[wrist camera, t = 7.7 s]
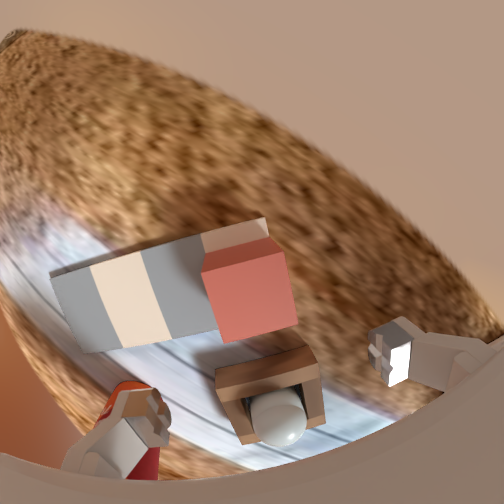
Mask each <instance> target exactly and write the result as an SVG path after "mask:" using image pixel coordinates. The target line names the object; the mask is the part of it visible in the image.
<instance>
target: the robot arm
mask: <svg viewBox="0 0 504 504" xmlns="http://www.w3.org/2000/svg"><path fill="white" fill-rule="evenodd" d="M368 340H369V341H370V342H371V344H370V346H369V348H368V356H369V360H370V363H371V364H372V366H373V368H374V369H375V370H377V371H381V377H382V379H383V380H384V381H385V382H386V383H387V385H388V386H392V385H394V384H396V383H398V382H400V381H402V380H404V379H406V378H408V379H410V380H413V381H415V382H418V383H421V384H423V385H426V386H429V387H432V388H434V389H437V390H440V391H443V392H444V394H442V395H441V396H439V397H438V398H436V399H435V400H433V401H432V402H430V403H428V404H427V405H425V406H423V407H422V408H420V409H418V410H417V411H415V412H413V413H411V414H410V415H408V416H406V417H404V418H402V419H400V420H398V421H397V422H395V423H393V424H391V425H389V426H387V427H385V428H383V429H380V430H378V431H376V432H374V433H372V434H370V435H367V436H365V437H363V438H361V439H358V440H356V441H353V442H351V443H348V444H346V445H343V446H341V447H338V448H335V449H333V450H330V451H327V452H324V453H321V454H318V455H315V456H312V457H309V458H305V459H302V460H299V461H295V462H291V463H288V464H284V465H280V466H276V467H272V468H267V469H262V470H258V471H253V472H247V473H241V474H235V475H228V476H221V477H212V478H202V479H189V480H129V479H125V478H126V477H127V476H128V475H129V473H130V472H131V471H132V469H133V468H134V467H135V466H136V464H137V463H138V462H139V460H140V459H141V458H142V457H143V455H144V454H145V453H146V451H147V450H148V448H152V447H165V446H168V443H169V435H170V433H169V432H168V430H167V429H168V427H169V426H170V425H171V413H170V410H169V408H168V406H167V404H166V403H165V402H163V401H162V400H160V397H161V394H160V393H159V391H158V389H156V388H146V389H135V390H125V391H121V392H119V394H118V396H117V399H116V401H115V404H114V407H113V409H112V412H111V414H110V417H109V418H106V419H105V420H103V421H102V422H101V423H100V424H99V425H97V426H96V427H95V428H94V429H92V430H91V431H90V432H89V433H88V434H86V435H85V436H84V437H83V438H82V439H80V440H79V441H78V442H76V443H75V444H74V445H73V446H72V447H70V448H69V449H68V451H67V454H66V456H65V459H64V461H63V464H62V466H61V469H60V470H58V469H54V468H50V467H46V466H42V465H39V464H35V463H32V462H29V461H25V460H22V459H19V458H17V457H13V456H11V455H8V454H5V453H0V504H504V335H503V336H501V337H500V338H498V339H496V340H494V341H493V342H491V343H489V344H486V343H484V342H483V341H481V340H480V339H477V338H469V337H461V336H453V335H446V334H439V333H432V332H428V333H425V332H423V331H422V330H421V329H419V328H418V327H417V326H416V325H414V324H413V323H412V322H410V321H409V320H408V319H406V318H405V317H403V316H400V317H398V318H396V319H394V320H391V321H390V322H388V323H385V324H383V325H381V326H378V327H376V328H374V329H371V330H369V332H368Z"/></svg>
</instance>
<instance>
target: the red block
mask: <svg viewBox="0 0 504 504" xmlns="http://www.w3.org/2000/svg"><path fill="white" fill-rule="evenodd" d="M201 275H202V279H203V282H204V285H205V288H206V291H207V295H208V298H209V301H210V304H211V307H212V310H213V313H214V316H215V319H216V322H217V325H218V328H219V331H220V334H221V337H222V340H223V342H224V344H225V343H229V342H233V341H237V340H241V339H245V338H249V337H253V336H257V335H261V334H265V333H268V332H272V331H276V330H279V329H283V328H286V327H290V326H293V325H297V324H298V319H297V314H296V309H295V304H294V299H293V294H292V289H291V284H290V279H289V274H288V269H287V265H286V260H285V255H284V251H283V250H282V249H281V248H280V247H279V246H278V245H277V244H276V243H275V242H274V241H273V240H272V239H271V238H270V237H266V238H263V239H259V240H255V241H251V242H247V243H243V244H239V245H236V246H232V247H228V248H224V249H220V250H216V251H213V252H209V253H206V254H205V258H204V262H203V266H202V270H201Z"/></svg>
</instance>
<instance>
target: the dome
mask: <svg viewBox="0 0 504 504" xmlns="http://www.w3.org/2000/svg"><path fill="white" fill-rule="evenodd" d="M248 398H249V405H250V411H251V418H252V424H253V429H254V432H255V434H256V435H257V437H258V438H259V439H260V440H261V441H262V442H264V443H266V444H268V445H270V446H275V447H283V446H287V445H290V444H292V443H294V442H296V441H297V440H298V439H299V438H300V437H301V436H302V435H303V433H304V431H305V429H306V424H307V418H306V414H305V411H304V409H303V406H302V403H301V401H300V398H299V396H298V393H297V390H296V388H295V385H292V386H289V387H285V388H281V389H278V390H274V391H270V392H266V393H262V394H258V395H254V396H250V397H248Z"/></svg>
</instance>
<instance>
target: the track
mask: <svg viewBox="0 0 504 504" xmlns="http://www.w3.org/2000/svg"><path fill="white" fill-rule="evenodd" d="M266 237H269V233H268V229H267V224H266V220H265V217H261V218H257V219H253V220H249V221H245V222H241V223H238V224H234V225H230V226H226V227H222V228H218V229H215V230H211V231H207V232H203V233H200V234H196V235H192V236H189V237H185V238H181V239H178V240H174V241H170V242H167V243H163V244H160V245H156V246H153V247H149V248H146V249H142V250H139V251H136V252H132V253H129V254H125V255H122V256H119V257H115V258H112V259H109V260H105V261H102V262H99V263H96V264H92V265H89V266H86V267H83V268H80V269H77V270H73V271H70V272H67V273H64V274H61V275H58V276H55V277H52V278H51V279H50V281H51V284H52V287H53V289H54V292H55V294H56V297H57V299H58V302H59V304H60V306H61V309H62V311H63V313H64V316H65V318H66V320H67V322H68V324H69V327H70V329H71V331H72V333H73V335H74V337H75V339H76V341H77V343H78V345H79V347H80V349H81V350H82V352H83V354H88V353H95V352H102V351H109V350H115V349H121V348H127V347H133V346H139V345H145V344H150V343H155V342H160V341H166V340H171V339H176V338H180V337H185V336H190V335H194V334H199V333H203V332H208V331H212V330H216V329H219V328H218V325H217V322H216V319H215V316H214V313H213V310H212V307H211V304H210V301H209V298H208V295H207V291H206V288H205V285H204V282H203V279H202V275H201V270H202V266H203V262H204V258H205V254H206V253H209V252H213V251H216V250H220V249H224V248H228V247H232V246H236V245H239V244H243V243H247V242H251V241H255V240H259V239H263V238H266Z"/></svg>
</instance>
